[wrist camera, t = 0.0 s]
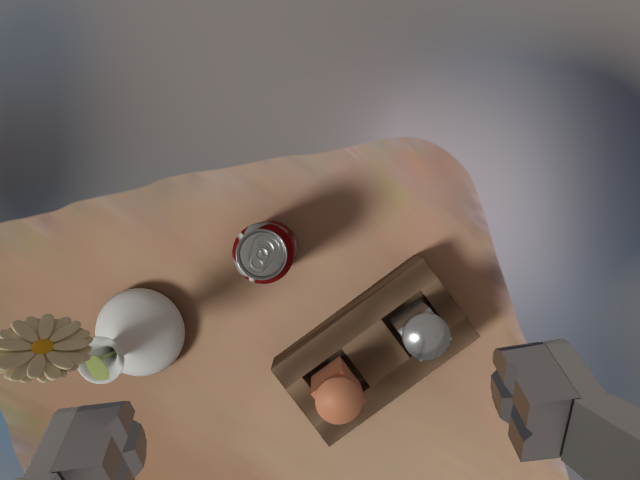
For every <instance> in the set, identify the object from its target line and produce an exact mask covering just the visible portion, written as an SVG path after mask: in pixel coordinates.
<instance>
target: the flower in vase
mask: <svg viewBox="0 0 640 480" xmlns="http://www.w3.org/2000/svg"><path fill="white" fill-rule="evenodd" d="M80 326H81V323H80V322H78V321H73V322H71V319H70V318H69V317H64V318H62V319H55V320H54V317H53V315H51V314H45V315H43V316H42V317H41V319H37V318H35V317H28V318H26V319H25V321H24V322H23V321H20V320H17V321H14V322H12V323H11V328H9V329H8V330H1V331H0V373H6V374H5V378H6V379H9V380H12V381H20V382H22V383H28V382H30V381H32V380H33V379H34V378H37V379H38V380H39V381H40V382H48V381H50V380H56V379H60V378H63V377H65V376H66V375H67V371H69V372H72V371H75V370H77V369H78V370H79V372H80V374H81V375H82V376H83V377H84V378H85V379H86V380H88V381H90V382H92V383H96V384H105V383H109V382H111V381H113V380H115V379H116V378H117V377H118V376H119V375H120V373H121V372H122V373H125V374H128V375H132V376H148V375H153V374H156V373H159V372H161V371H163V370H164V369H166V368H167V367H169V366H170V365H171V364H172V363H173V362H174V361H175V360H176V358H177V357H178V356H179V354H180V352H181V350H182V347H183V344H184V339H185V327H184V322H183V319H182V316H181V314H180V312H179V310H178V309H177V307H176V306H175V305H174V303H173V302H172V301H171V300H170V299H168V298H167V297H166V296H164V295H163V294H161V293H159V292H156V291H154V290H150V289H144V288H134V289H129V290H125V291H123V292H120V293H118V294H117V295H115V296H113V297H112V298H111V299H110V300H109V301H108V302H107V303H106V304H105V305H104V307H103V308H102V309H101V311H100V313H99V316H98V318H97V322H96V327H95V337H90V336H89V335H90V332H89V331H87V330H84V329H83V328H80Z"/></svg>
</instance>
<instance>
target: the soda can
mask: <svg viewBox="0 0 640 480" xmlns="http://www.w3.org/2000/svg"><path fill="white" fill-rule="evenodd" d="M296 250H297V244H296V240H295V237H294V235H293V233H292V232H291V230H290V229H289V228H288V227H286V226H285V225H283V224H281V223H279V222H275V221H266V222H261V223H256V224H253V225H250V226H248V227H247V228H245V229H244V230H243V231H242V232H241V233H240V234H239V235H238V236H237V238H236V240H235V242H234V245H233V261H234V264H235V266H236V268H237V270H238V271H239V272H240V274H241V275H242V276H243V277H245V278H246V279H248V280H250V281H252V282H255V283H260V284H267V283H272V282H275V281H277V280H279V279H280V278H282V277H283V276H284V275H285V274H286V273H287V272H288V270H289V269H290V267H291V265H292V263H293V260H294V258H295V255H296Z"/></svg>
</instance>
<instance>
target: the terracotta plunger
mask: <svg viewBox="0 0 640 480" xmlns="http://www.w3.org/2000/svg"><path fill="white" fill-rule="evenodd" d="M311 395H312V397H313V398H314V399H315V406H316V409H317V412H318V414H319V415H320V416H321V417H322V418H323V419H324V420H325V421H327V422H329V423H331V424H334V425H335V424H337V425H341V424H346V423H348V422H350V421H352V420H353V419H355V418H356V417H357V415H358V414H359V412H360V410H361V407H362V404H364V403H365V402H366V401H365V398H364V394H363V390H362V387H361V383H360V382H359V381H358V379H357V378H356V377H355V375H354V374H353V373H352V371H351V370H350V369H349V367H348V366H347V365H346V363H345V362H344V361H343V359H342V358H341V357H340V356H339V357H337V358H336V359H334V360H333V361H332V362H330V363H329V364H328V365H326V366H325V367H324V368H322V369H321V370H319V371H318V372H317V373H315V374H314V375H313V376H311Z"/></svg>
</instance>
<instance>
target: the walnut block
mask: <svg viewBox="0 0 640 480" xmlns="http://www.w3.org/2000/svg"><path fill="white" fill-rule="evenodd" d="M418 298H419V299H420V300H421V301H422V302H423V303H425V304H426V305H427V306H428V307H429V308H430V309H431V310H432V312H433V313H434V314H436V315H438V316H439V317H441V318H442V319H443V320H444V321H445V322H446V323H447V325H448V327H449V330H450V334H451V338H452V339H451V340H450V344H449V346H448V348H447V350H446V351H445V352H444V353H443V354H442V355H441V356H440V357H438V358H436V359H433V360H423V361H421V362H420V361H419V359H417V358H415V357H414V356H412V355H411V354H410V353H409V352H408V351H407V349H406V348H405V346H404V344H403V341H402V336H401V335H400V334H399V332H398V331H397V330H396V328H395V327H394V325H393V324H392V322H391V321H390V320H389V319H390V318H392V317H393V316H394V315H396V314H397V313H399V312H400V311H401V310H403V309H404V308H405V307H407V306H408V305H409V304H411V303H412V302H414V301H415V300H416V299H418ZM479 337H480V335H479V334H478V333H477V331H476V330H475V328H474V327H473V326H472V324H471V323H470V322H469V320H468V319H467V317H466V316H465V315H464V313H463V312H462V311H461V309H460V308H459V307H458V305H457V304H456V302H455V301H454V300H453V298H452V297H451V296H450V294H449V293H448V291H447V290H446V289H445V287H444V286H443V285H442V283H441V282H440V281H439V279H438V278H437V276H436V275H435V274H434V272H433V271H432V270H431V268H430V267H429V265H428V264H427V263H426V261H425V260H424V259H423V258H422V257H420V256H417V255H413V256H412V257H411V258H409V259H408V260H407V261H405V262H404V263H402V264H401V265H400V266H398V267H397V268H396V269H394V270H393V271H392V272H390V273H389V274H388V275H386V276H385V277H383V278H382V279H381V280H379V281H378V282H377V283H375V284H374V285H373V286H371V287H370V288H368V289H367V290H366V291H364V292H363V293H362V294H360V295H359V296H358V297H356V298H355V299H354V300H352V301H351V302H349V303H348V304H347V305H345V306H344V307H343V308H341V309H340V310H339V311H337V312H336V313H335V314H333V315H332V316H330V317H329V318H328V319H326V320H325V321H324V322H322V323H321V324H320V325H318V326H317V327H315V328H314V329H313V330H311V331H310V332H309V333H307V334H306V335H305V336H303V337H302V338H301V339H299V340H298V341H296V342H295V343H294V344H292V345H291V346H290V347H288V348H287V349H286V350H284V351H283V352H282V353H280V354H279V355H277V356H276V357H275V358H274V360H273V364H272V367H271V371H272V372H273V374H274V375H275V376H276V377H277V379H278V380H279V381H280V383H281V384H282V385H283V387H284V388H285V389H286V391H287V392H288V393H289V395H290V396H291V397H292V398H293V400H294V401H295V402H296V404H297V405H298V406H299V408H300V409H301V410H302V412H303V413H304V414H305V416H306V417H307V418H308V419H309V421H310V422H311V423H312V425H313V426H314V427H315V429H316V430H317V431H318V433H319V434H320V435H321V437H322V438H323V439H324V440H325V442H326V443H327V444H328V446H331V445H332V444H333V443H335V442H336V441H338V440H339V439H340V438H342V437H343V436H344V435H346V434H347V433H349V432H350V431H351V430H353V429H354V428H355V427H357V426H358V425H360V424H361V423H362V422H364V421H365V420H366V419H368V418H369V417H371V416H372V415H373V414H375V413H376V412H377V411H379V410H380V409H382V408H383V407H384V406H386V405H387V404H388V403H390V402H391V401H393V400H394V399H395V398H397V397H398V396H399V395H401V394H402V393H403V392H405V391H406V390H408V389H409V388H410V387H412V386H413V385H414V384H416V383H417V382H419V381H420V380H421V379H423V378H424V377H425V376H427V375H428V374H430V373H431V372H432V371H434V370H435V369H436V368H438V367H439V366H441V365H442V364H443V363H445V362H446V361H447V360H449V359H450V358H452V357H453V356H454V355H456V354H457V353H458V352H460V351H461V350H463V349H464V348H465V347H467V346H468V345H469V344H471V343H472V342H474V341H475V340H476V339H478V338H479ZM339 356H340V357H341V358H342V359H343V361H344V362H345V363H346V365H347V366H348V367H349V369H350V370H351V371H352V373H353V374H354V375H355V377H356V378H357V379H358V381H359V382H360V383H361V387H362V390H363V394H364V398H365V401H366V402H365V403H364V404H362V407H361V410H360V412H359V414H358V415H357V417H356V418H355V419H353V420H352V421H350V422H348V423H346V424H341V425H337V424H335V425H334V424H331V423H329V422H327V421H325V420H324V419H323V418H322V417H321V416H320V415H319V414H318V412H317V409H316V406H315V399H314V398H313V397H312V395H311V376H313V375H314V374H315V373H317V372H318V371H319V370H321V369H322V368H324V367H325V366H326V365H328V364H329V363H330V362H332V361H333V360H334V359H336V358H337V357H339Z"/></svg>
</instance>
